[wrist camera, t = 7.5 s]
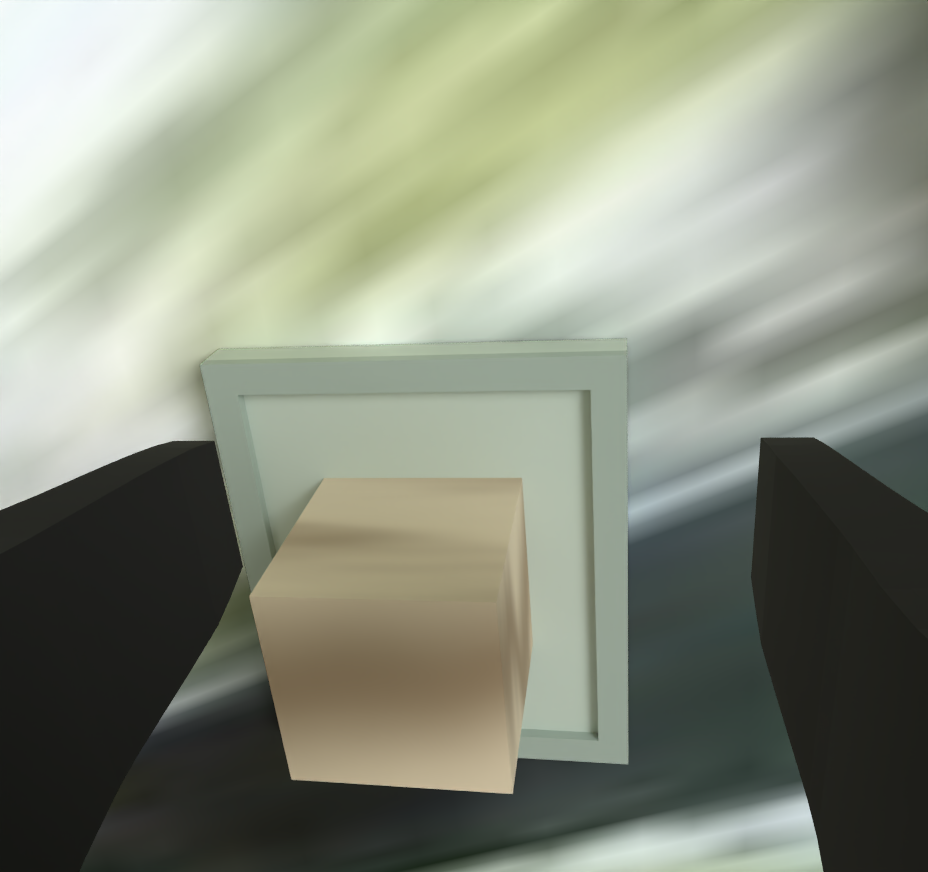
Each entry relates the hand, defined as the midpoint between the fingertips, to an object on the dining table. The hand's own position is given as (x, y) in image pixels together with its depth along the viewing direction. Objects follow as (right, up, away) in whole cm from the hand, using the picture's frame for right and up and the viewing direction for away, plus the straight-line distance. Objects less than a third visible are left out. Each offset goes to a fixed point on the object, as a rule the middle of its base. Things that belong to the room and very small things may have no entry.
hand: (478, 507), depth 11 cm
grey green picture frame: (-1, -2, +12) cm, 12 cm away
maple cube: (-1, -2, +11) cm, 11 cm away
